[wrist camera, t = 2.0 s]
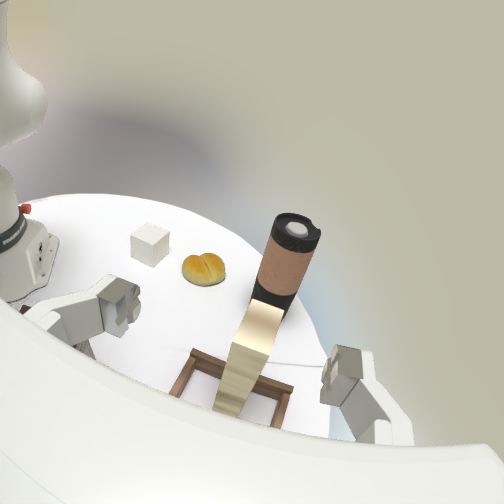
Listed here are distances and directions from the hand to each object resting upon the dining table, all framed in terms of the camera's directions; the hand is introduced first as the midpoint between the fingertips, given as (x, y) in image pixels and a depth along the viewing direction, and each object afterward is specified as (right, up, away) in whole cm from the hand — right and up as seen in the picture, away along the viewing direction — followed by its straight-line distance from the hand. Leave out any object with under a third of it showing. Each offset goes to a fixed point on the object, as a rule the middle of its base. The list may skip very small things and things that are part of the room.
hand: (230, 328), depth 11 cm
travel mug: (+4, -9, +45) cm, 46 cm away
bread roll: (-9, -2, +50) cm, 51 cm away
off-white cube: (-21, +2, +50) cm, 55 cm away
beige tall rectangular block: (-3, -20, +28) cm, 34 cm away
